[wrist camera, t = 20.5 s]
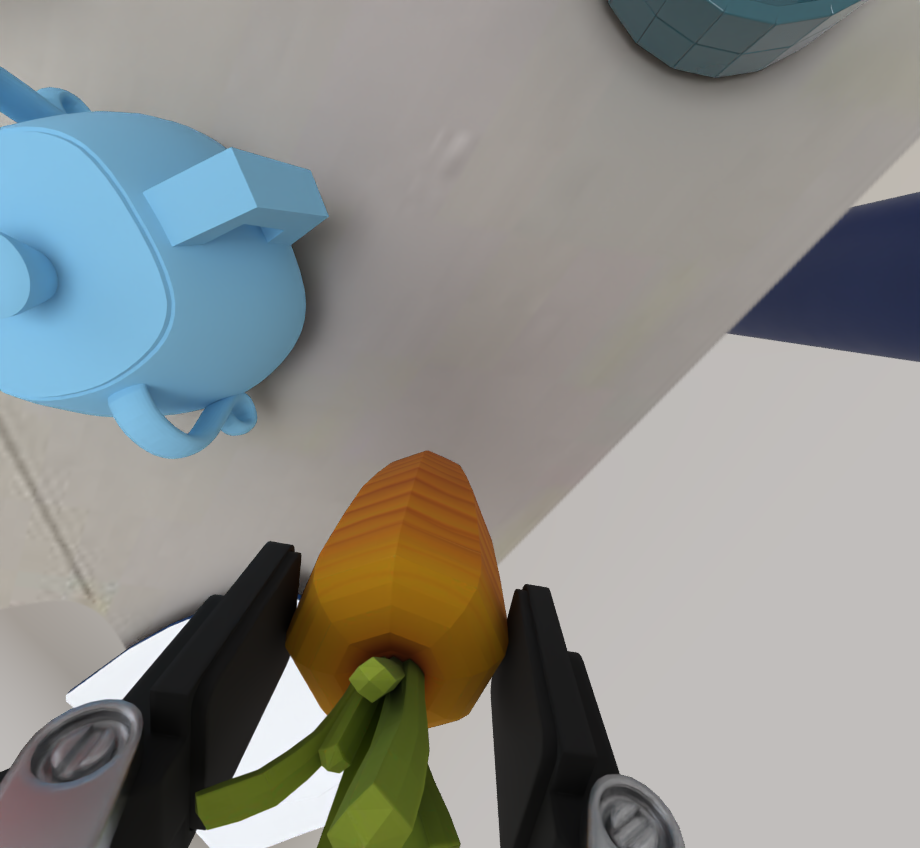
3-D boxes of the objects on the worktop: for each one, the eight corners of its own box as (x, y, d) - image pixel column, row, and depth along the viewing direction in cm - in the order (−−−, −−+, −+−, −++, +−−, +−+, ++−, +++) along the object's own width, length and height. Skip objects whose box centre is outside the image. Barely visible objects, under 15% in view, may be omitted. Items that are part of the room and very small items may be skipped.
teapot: (276, 39, 21) (63, -248, 10) (414, 356, 26) (374, 405, 14) (-48, 211, 24) (-518, 135, 12) (128, 475, 28) (-101, 598, 17)
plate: (239, 834, 37) (222, 874, 35) (75, 660, 32) (42, 692, 30) (451, 753, 34) (450, 790, 32) (308, 548, 29) (292, 572, 27)
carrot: (428, 534, 21) (347, 1096, 6) (352, 460, 20) (37, 927, 5) (509, 467, 20) (638, 950, 5) (433, 386, 19) (327, 706, 4)
